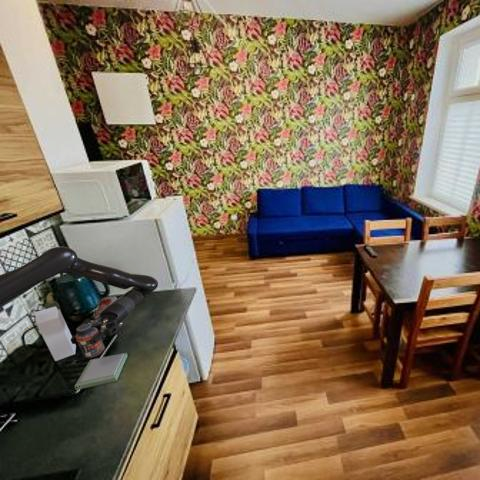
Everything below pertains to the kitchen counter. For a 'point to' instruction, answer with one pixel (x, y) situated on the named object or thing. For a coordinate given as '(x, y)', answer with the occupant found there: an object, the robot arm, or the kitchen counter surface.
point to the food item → (104, 305)
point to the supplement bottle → (88, 341)
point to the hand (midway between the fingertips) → (82, 342)
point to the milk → (55, 333)
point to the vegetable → (51, 303)
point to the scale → (101, 371)
